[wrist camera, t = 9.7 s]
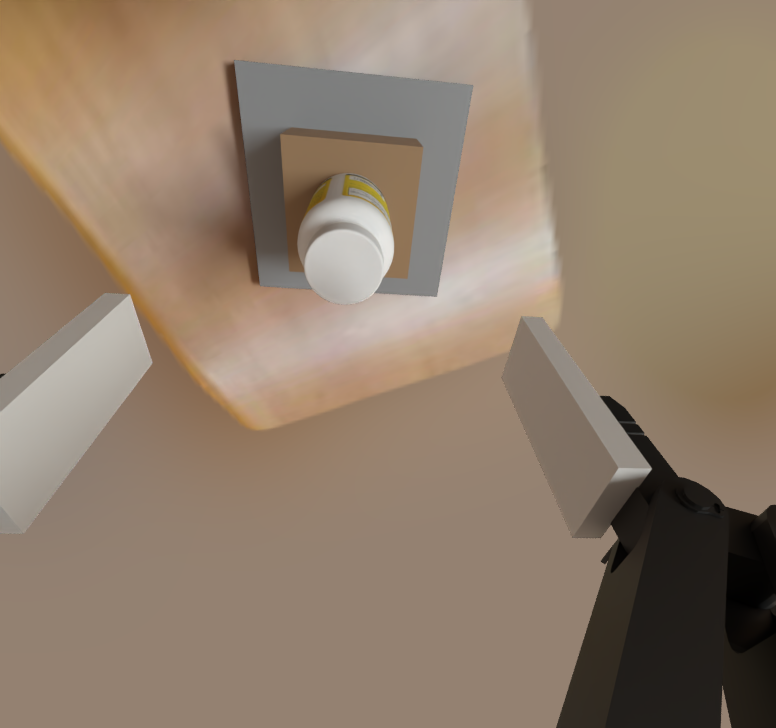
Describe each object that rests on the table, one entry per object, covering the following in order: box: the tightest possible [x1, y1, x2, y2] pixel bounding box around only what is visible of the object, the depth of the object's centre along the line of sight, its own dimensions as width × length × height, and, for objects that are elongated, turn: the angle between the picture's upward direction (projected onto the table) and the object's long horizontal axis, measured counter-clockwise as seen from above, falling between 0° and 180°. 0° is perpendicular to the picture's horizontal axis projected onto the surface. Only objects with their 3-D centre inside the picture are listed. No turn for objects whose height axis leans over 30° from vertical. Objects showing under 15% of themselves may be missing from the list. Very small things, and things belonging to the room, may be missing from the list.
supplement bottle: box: [297, 173, 394, 305], centre depth 23 cm, size 5×5×10 cm
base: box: [234, 60, 473, 297], centre depth 29 cm, size 16×16×6 cm
